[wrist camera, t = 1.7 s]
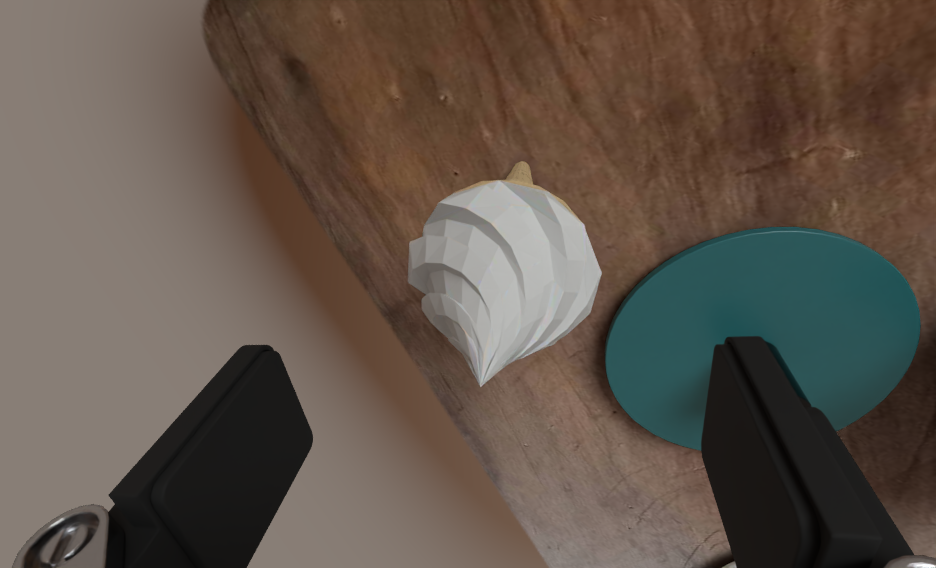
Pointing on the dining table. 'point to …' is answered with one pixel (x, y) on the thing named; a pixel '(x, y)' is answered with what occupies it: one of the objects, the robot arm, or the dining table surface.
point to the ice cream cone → (503, 270)
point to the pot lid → (763, 326)
